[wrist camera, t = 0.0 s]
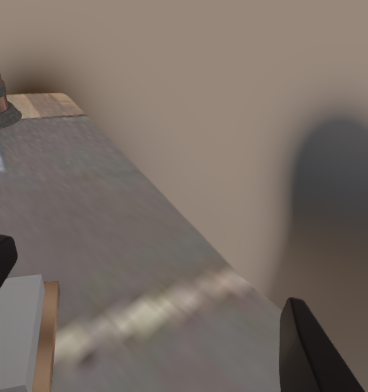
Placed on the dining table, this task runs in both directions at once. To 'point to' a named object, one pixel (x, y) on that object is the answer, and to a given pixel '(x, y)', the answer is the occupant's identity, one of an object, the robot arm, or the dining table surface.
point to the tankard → (7, 109)
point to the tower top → (19, 331)
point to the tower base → (46, 339)
